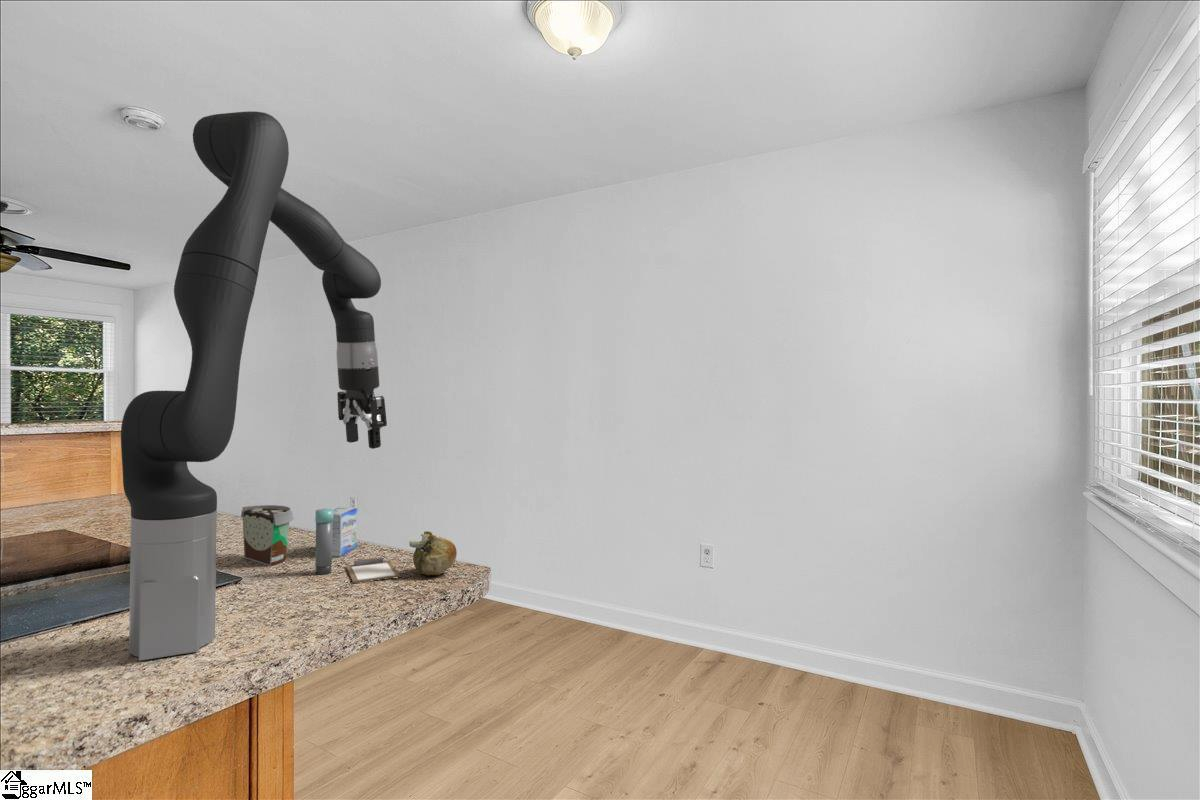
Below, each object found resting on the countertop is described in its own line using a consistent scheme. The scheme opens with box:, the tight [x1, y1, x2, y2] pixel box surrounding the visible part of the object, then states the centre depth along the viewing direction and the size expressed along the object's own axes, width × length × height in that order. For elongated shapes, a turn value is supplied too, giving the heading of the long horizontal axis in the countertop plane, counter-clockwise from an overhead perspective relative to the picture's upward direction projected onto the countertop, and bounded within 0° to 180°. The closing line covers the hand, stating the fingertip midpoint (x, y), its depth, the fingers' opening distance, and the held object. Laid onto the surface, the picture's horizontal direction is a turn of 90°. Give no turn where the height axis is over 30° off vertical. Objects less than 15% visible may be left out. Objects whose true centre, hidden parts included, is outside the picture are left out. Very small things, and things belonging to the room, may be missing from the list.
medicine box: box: [332, 506, 358, 558], centre depth 125 cm, size 8×4×9 cm, turn 179°
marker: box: [314, 508, 334, 576], centre depth 111 cm, size 3×3×12 cm
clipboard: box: [345, 557, 402, 584], centre depth 112 cm, size 11×8×1 cm
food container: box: [240, 504, 294, 567], centre depth 119 cm, size 12×6×10 cm, turn 58°
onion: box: [408, 530, 457, 576], centre depth 112 cm, size 8×8×8 cm
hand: (363, 444), depth 122 cm, fingers open, 8 cm apart
